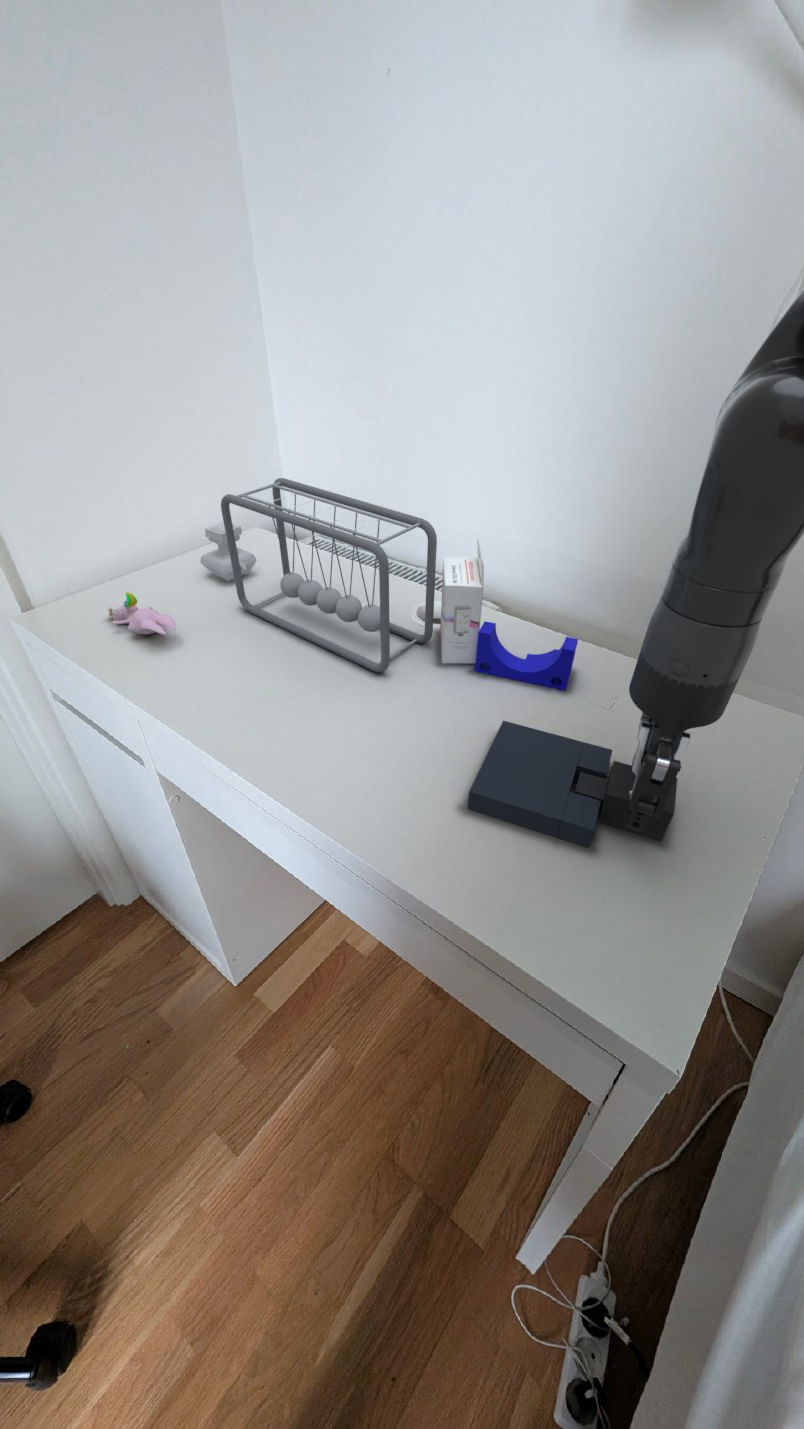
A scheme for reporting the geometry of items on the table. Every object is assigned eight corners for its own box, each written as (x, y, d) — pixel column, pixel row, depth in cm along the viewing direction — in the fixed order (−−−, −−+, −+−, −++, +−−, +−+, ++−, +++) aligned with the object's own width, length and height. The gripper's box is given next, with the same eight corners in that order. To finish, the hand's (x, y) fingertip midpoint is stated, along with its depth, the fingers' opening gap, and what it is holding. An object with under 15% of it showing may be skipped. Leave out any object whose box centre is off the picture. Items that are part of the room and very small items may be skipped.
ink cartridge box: (438, 631, 85) (443, 534, 76) (471, 632, 85) (481, 534, 76) (440, 664, 78) (446, 562, 69) (477, 665, 78) (487, 562, 69)
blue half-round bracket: (570, 672, 77) (579, 633, 73) (565, 690, 74) (574, 651, 70) (483, 654, 80) (487, 615, 76) (474, 671, 77) (478, 632, 73)
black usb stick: (665, 805, 59) (677, 777, 56) (661, 841, 55) (674, 813, 52) (577, 780, 61) (585, 752, 59) (568, 813, 58) (576, 785, 55)
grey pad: (607, 766, 63) (612, 749, 61) (588, 847, 54) (594, 830, 53) (500, 737, 67) (503, 720, 65) (467, 808, 58) (469, 791, 56)
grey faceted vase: (199, 574, 99) (187, 526, 94) (230, 562, 103) (221, 515, 98) (232, 589, 95) (223, 540, 90) (263, 576, 99) (256, 527, 94)
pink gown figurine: (103, 631, 87) (154, 652, 78) (87, 594, 84) (137, 611, 75) (141, 615, 91) (193, 634, 82) (127, 579, 87) (180, 594, 78)
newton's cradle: (433, 645, 82) (439, 522, 71) (386, 679, 75) (384, 548, 64) (288, 584, 96) (274, 474, 85) (238, 608, 90) (216, 492, 79)
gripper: (745, 719, 40) (674, 865, 50) (741, 623, 50) (682, 760, 60) (632, 692, 42) (585, 837, 52) (650, 606, 52) (608, 741, 62)
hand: (637, 796), depth 56 cm, fingers open, 8 cm apart
